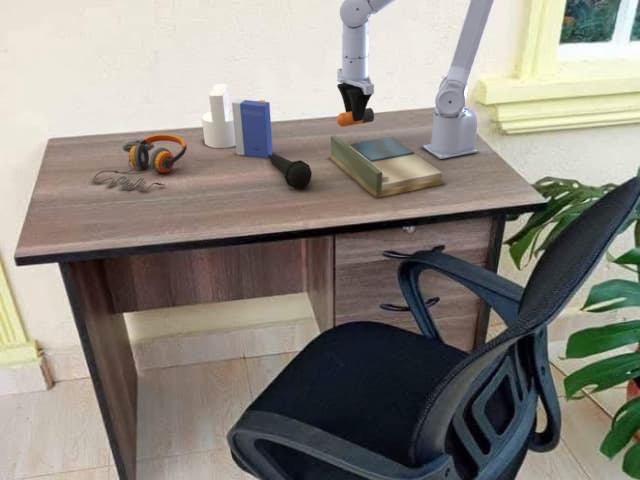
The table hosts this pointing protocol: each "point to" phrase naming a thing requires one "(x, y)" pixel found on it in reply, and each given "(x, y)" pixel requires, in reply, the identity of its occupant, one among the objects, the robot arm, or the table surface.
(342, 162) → the bed
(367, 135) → the table surface
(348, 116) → the orange capsule container
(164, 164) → the headphones
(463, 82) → the robot arm
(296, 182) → the microphone
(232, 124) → the base with upright slab
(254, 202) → the table surface
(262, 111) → the walkman
